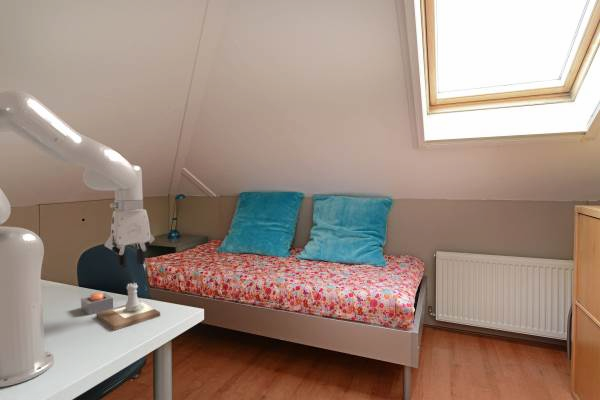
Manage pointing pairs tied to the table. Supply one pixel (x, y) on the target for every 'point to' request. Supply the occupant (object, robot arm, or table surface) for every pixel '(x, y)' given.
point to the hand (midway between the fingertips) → (131, 264)
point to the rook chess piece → (132, 298)
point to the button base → (96, 304)
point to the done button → (96, 297)
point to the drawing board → (127, 316)
